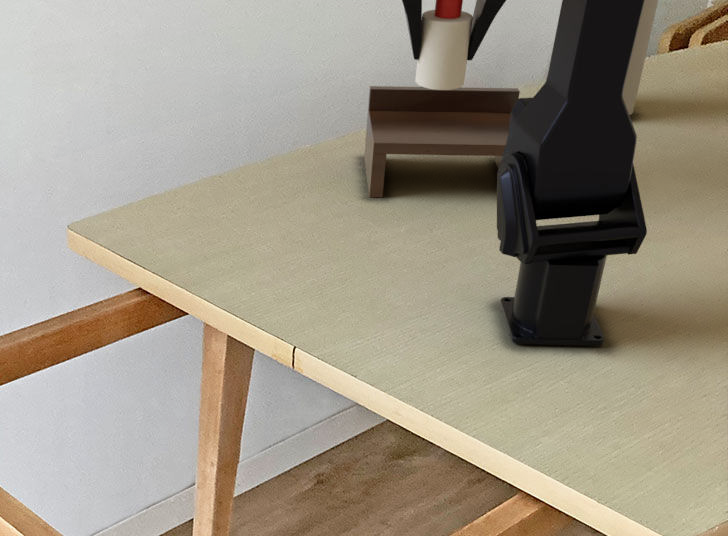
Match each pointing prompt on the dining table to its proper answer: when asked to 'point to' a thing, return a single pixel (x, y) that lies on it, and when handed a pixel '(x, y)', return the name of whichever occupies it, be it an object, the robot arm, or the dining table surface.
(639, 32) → the travel mug
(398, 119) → the spice rack
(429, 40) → the seasoning bottle
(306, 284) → the dining table surface
